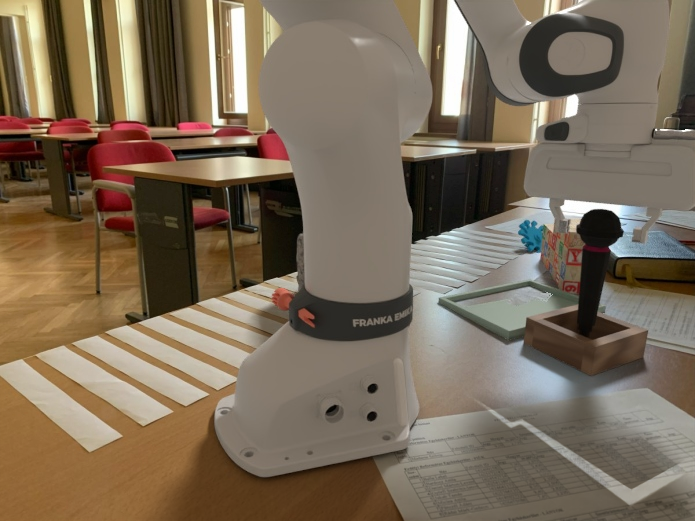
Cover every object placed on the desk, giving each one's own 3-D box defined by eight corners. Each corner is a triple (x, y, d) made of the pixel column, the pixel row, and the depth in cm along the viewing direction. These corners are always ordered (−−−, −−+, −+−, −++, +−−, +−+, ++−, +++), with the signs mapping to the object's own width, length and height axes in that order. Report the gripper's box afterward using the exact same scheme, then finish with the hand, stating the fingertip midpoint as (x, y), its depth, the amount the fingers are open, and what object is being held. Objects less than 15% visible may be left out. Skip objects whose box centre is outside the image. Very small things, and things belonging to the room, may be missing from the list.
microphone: (612, 352, 72) (635, 210, 66) (588, 362, 68) (610, 214, 63) (576, 338, 76) (595, 203, 70) (552, 347, 73) (570, 207, 67)
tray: (508, 341, 75) (509, 331, 74) (438, 306, 88) (438, 297, 88) (604, 314, 85) (606, 305, 85) (528, 287, 99) (529, 279, 98)
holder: (591, 375, 65) (595, 346, 64) (523, 343, 74) (526, 317, 73) (643, 357, 70) (648, 330, 69) (574, 328, 79) (577, 304, 78)
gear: (536, 257, 116) (514, 220, 119) (518, 269, 120) (498, 233, 124) (566, 250, 122) (544, 215, 125) (548, 262, 126) (528, 228, 130)
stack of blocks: (538, 264, 114) (544, 209, 111) (568, 265, 113) (575, 210, 110) (561, 296, 94) (569, 230, 91) (597, 298, 93) (607, 232, 90)
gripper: (717, 129, 60) (695, 244, 64) (540, 127, 72) (531, 223, 76) (712, 130, 55) (689, 254, 59) (524, 128, 68) (515, 230, 71)
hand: (598, 237), depth 68 cm, fingers open, 8 cm apart
